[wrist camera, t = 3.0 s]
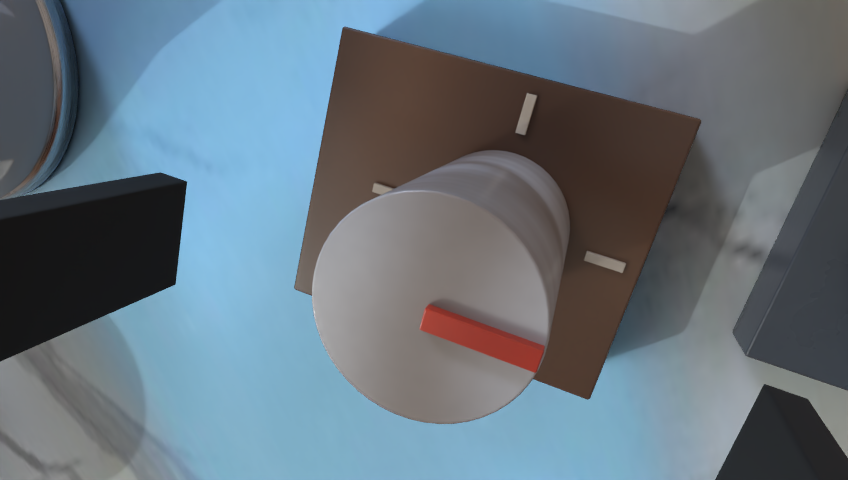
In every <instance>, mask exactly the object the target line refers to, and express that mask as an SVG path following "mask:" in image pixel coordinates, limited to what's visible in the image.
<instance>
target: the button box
mask: <svg viewBox="0 0 848 480" xmlns="http://www.w3.org/2000/svg"><path fill="white" fill-rule="evenodd" d="M733 334H734V336H735V338H736V340H737V341H738V343H739V345H740V347H741V348H742V350H743V352H744V354H745V355H746V356H748V357H751V358H754V359H757V360H760V361H763V362H765V363H768V364H771V365H774V366H777V367H780V368H783V369H786V370H789V371H792V372H795V373H798V374H801V375H804V376H807V377H810V378H812V379H815V380H818V381H821V382H824V383H827V384H830V385H833V386H836V387H839V388H842V389H845V390H848V91H847V93H846V95H845V97H844V99H843V101H842V103H841V105H840V107H839V110H838V112H837V114H836V116H835V118H834V120H833V122H832V124H831V126H830V128H829V131H828V133H827V135H826V137H825V139H824V141H823V143H822V145H821V147H820V149H819V151H818V154H817V156H816V158H815V160H814V162H813V164H812V166H811V168H810V170H809V172H808V174H807V177H806V179H805V181H804V183H803V185H802V187H801V189H800V191H799V193H798V195H797V198H796V200H795V202H794V204H793V206H792V208H791V210H790V212H789V214H788V216H787V218H786V221H785V223H784V225H783V227H782V229H781V231H780V233H779V235H778V237H777V239H776V241H775V244H774V246H773V248H772V250H771V252H770V254H769V256H768V258H767V260H766V262H765V265H764V267H763V269H762V271H761V273H760V275H759V277H758V279H757V281H756V283H755V285H754V288H753V290H752V292H751V294H750V296H749V298H748V300H747V302H746V304H745V306H744V309H743V311H742V313H741V315H740V317H739V319H738V321H737V323H736V325H735V327H734V329H733Z"/></svg>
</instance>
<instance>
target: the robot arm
mask: <svg viewBox="0 0 848 480" xmlns="http://www.w3.org/2000/svg"><path fill="white" fill-rule="evenodd" d="M77 103H78V73H77V62H76V56H75V49H74V45H73V40H72V35H71V32H70V28H69V25H68V22H67V18H66V16H65V13H64V10H63V7H62V5H61V2H60V0H0V361H2V360H5V359H7V358H9V357H11V356H14V355H16V354H18V353H20V352H23V351H25V350H27V349H30V348H32V347H34V346H36V345H39V344H41V343H43V342H46V341H48V340H50V339H52V338H55V337H57V336H59V335H61V334H64V333H66V332H68V331H71V330H73V329H75V328H77V327H80V326H82V325H84V324H87V323H89V322H91V321H93V320H96V319H98V318H100V317H102V316H105V315H107V314H109V313H112V312H114V311H116V310H118V309H121V308H123V307H125V306H128V305H130V304H132V303H134V302H137V301H139V300H141V299H143V298H146V297H148V296H150V295H153V294H155V293H157V292H159V291H162V290H164V289H166V288H168V287H171V286H173V285H175V283H176V274H177V266H178V257H179V248H180V239H181V230H182V221H183V213H184V204H185V195H186V186H187V182H186V181H184V180H181V179H178V178H175V177H172V176H169V175H166V174H164V173H155V174H149V175H143V176H137V177H132V178H126V179H120V180H114V181H108V182H102V183H97V184H91V185H85V186H79V187H73V188H67V189H62V190H56V191H50V192H44V193H38V194H32V195H27V196H21V195H24V194H26V193H28V192H30V191H32V190H33V189H35V188H36V187H38V186H39V185H41V184H42V183H43V182H44V181H45V180H46V179H47V178H48V177H49V176H50V175H51V174H52V172H53V171H54V170H55V169H56V167H57V166H58V164H59V163H60V161H61V159H62V157H63V155H64V153H65V151H66V149H67V147H68V144H69V141H70V139H71V136H72V132H73V128H74V124H75V118H76V113H77ZM18 196H21V197H18ZM14 197H15V198H14ZM715 480H848V458H847V456H846V455H845V454H844V452H843V451H842V449H841V448H840V446H839V445H838V443H837V442H836V440H835V439H834V437H833V436H832V434H831V433H830V431H829V430H828V428H827V427H826V425H825V424H824V423H823V421H822V420H821V418H820V417H819V415H818V414H817V412H816V411H815V409H814V408H813V406H812V405H811V403H810V402H809V400H808V399H806V398H803V397H800V396H797V395H794V394H791V393H789V392H786V391H783V390H780V389H777V388H774V387H772V386H769V385H766V384H764V386H763V388H762V390H761V391H760V393H759V395H758V397H757V399H756V401H755V403H754V405H753V407H752V409H751V411H750V413H749V415H748V417H747V419H746V421H745V423H744V425H743V427H742V429H741V430H740V432H739V434H738V436H737V438H736V440H735V442H734V444H733V446H732V448H731V450H730V452H729V454H728V456H727V458H726V460H725V462H724V464H723V466H722V468H721V470H720V471H719V473H718V475H717V477H716V479H715Z"/></svg>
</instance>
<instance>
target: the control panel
mask: <svg viewBox="0 0 848 480" xmlns="http://www.w3.org/2000/svg"><path fill="white" fill-rule="evenodd" d="M700 124H701V120H700V119H698V118H694V117H690V116H686V115H682V114H678V113H675V112H671V111H667V110H663V109H659V108H655V107H651V106H648V105H644V104H640V103H636V102H632V101H628V100H625V99H621V98H617V97H613V96H609V95H605V94H602V93H598V92H594V91H590V90H586V89H582V88H579V87H575V86H571V85H567V84H563V83H559V82H556V81H552V80H548V79H544V78H540V77H536V76H533V75H529V74H525V73H521V72H517V71H513V70H510V69H506V68H502V67H498V66H494V65H490V64H486V63H483V62H479V61H475V60H471V59H467V58H463V57H460V56H456V55H452V54H448V53H444V52H440V51H437V50H433V49H429V48H425V47H421V46H417V45H414V44H410V43H406V42H402V41H398V40H394V39H391V38H387V37H383V36H379V35H375V34H371V33H368V32H364V31H360V30H356V29H352V28H348V27H343V29H342V34H341V40H340V45H339V50H338V56H337V61H336V67H335V72H334V77H333V83H332V88H331V93H330V99H329V104H328V109H327V115H326V120H325V126H324V131H323V136H322V142H321V147H320V152H319V158H318V163H317V169H316V174H315V179H314V185H313V190H312V195H311V201H310V206H309V211H308V217H307V222H306V228H305V233H304V238H303V244H302V249H301V254H300V260H299V265H298V270H297V276H296V281H295V287H294V289H295V290H298V291H301V292H303V293H306V294H309V295H311V296H312V284H313V277H314V271H315V267H316V263H317V260H318V257H319V254H320V252H321V250H322V247H323V245H324V243H325V242H326V240H327V238H328V237H329V235H330V233H331V232H332V231H333V230H334V228H335V227H336V226H337V225H338V223H339V222H340V221H341V220H342V219H343V218H345V217H346V216H347V215H348V214H349V213H350V212H351V211H353V210H354V209H356V208H357V207H359V206H360V205H362V204H363V203H365V202H367V201H369V200H372V199H374V198H376V197H378V196H380V195H382V194H384V193H386V192H388V191H391V190H393V189H395V188H397V187H399V186H401V185H403V184H405V183H408V182H410V181H412V180H414V179H416V178H418V177H420V176H422V175H425V174H427V173H429V172H431V171H433V170H435V169H437V168H440V167H442V166H444V165H446V164H448V163H450V162H452V161H454V160H457V159H459V158H461V157H463V156H465V155H468V154H471V153H474V152H479V151H486V150H499V151H507V152H511V153H515V154H518V155H521V156H524V157H526V158H528V159H529V160H531V161H533V162H535V163H536V164H538V165H539V166H540V167H542V168H543V169H544V170H545V171H546V172H547V173H548V174H549V175H550V176H551V177H552V178H553V179H554V181H555V182H556V183H557V185H558V187H559V188H560V190H561V191H562V194H563V196H564V198H565V200H566V203H567V207H568V210H569V217H570V235H569V242H568V247H567V252H566V257H565V262H564V267H563V272H562V277H561V282H560V287H559V292H558V297H557V302H556V307H555V312H554V317H553V322H552V327H551V332H550V337H549V342H548V345H547V349H546V352H545V356H544V358H543V361H542V363H541V365H540V367H539V370H538V371H537V373H536V374H535V376H534V378H533V379H535V380H537V381H540V382H543V383H545V384H548V385H550V386H553V387H556V388H558V389H561V390H564V391H566V392H569V393H572V394H574V395H577V396H580V397H582V398H585V399H590V397H591V395H592V392H593V390H594V387H595V385H596V382H597V380H598V377H599V375H600V373H601V370H602V368H603V365H604V363H605V360H606V358H607V355H608V353H609V350H610V348H611V345H612V343H613V340H614V338H615V335H616V333H617V330H618V328H619V325H620V323H621V320H622V318H623V315H624V313H625V310H626V308H627V305H628V303H629V300H630V298H631V295H632V293H633V290H634V288H635V285H636V283H637V281H638V278H639V276H640V273H641V271H642V268H643V266H644V263H645V261H646V258H647V256H648V253H649V251H650V248H651V246H652V243H653V241H654V238H655V236H656V233H657V231H658V228H659V226H660V223H661V221H662V218H663V216H664V213H665V211H666V208H667V206H668V203H669V201H670V198H671V196H672V193H673V191H674V189H675V186H676V184H677V181H678V179H679V176H680V174H681V171H682V169H683V166H684V164H685V161H686V159H687V156H688V154H689V151H690V149H691V146H692V144H693V141H694V139H695V136H696V134H697V131H698V129H699V126H700Z"/></svg>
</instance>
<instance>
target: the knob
mask: <svg viewBox="0 0 848 480" xmlns="http://www.w3.org/2000/svg"><path fill="white" fill-rule="evenodd" d="M569 235H570V217H569V210H568V207H567V203H566V200H565V198H564V196H563V194H562V191H561V190H560V188H559V187H558V185H557V183H556V182H555V181H554V179H553V178H552V177H551V176H550V175H549V174H548V173H547V172H546V171H545V170H544V169H543V168H542V167H540V166H539V165H538V164H536V163H535V162H533V161H531V160H529V159H528V158H526V157H524V156H521V155H518V154H515V153H511V152H507V151H499V150H486V151H479V152H474V153H471V154H468V155H465V156H463V157H461V158H459V159H457V160H454V161H452V162H450V163H448V164H446V165H444V166H442V167H440V168H437V169H435V170H433V171H431V172H429V173H427V174H425V175H422V176H420V177H418V178H416V179H414V180H412V181H410V182H408V183H405V184H403V185H401V186H399V187H397V188H395V189H393V190H391V191H388V192H386V193H384V194H382V195H380V196H378V197H376V198H374V199H372V200H369V201H367V202H365V203H363V204H362V205H360V206H359V207H357V208H356V209H354V210H353V211H351V212H350V213H349V214H348V215H347V216H346V217H345V218H343V219H342V220H341V221H340V222H339V223H338V225H337V226H336V227H335V228H334V230H333V231H332V232H331V233H330V235H329V237H328V238H327V240H326V242H325V243H324V245H323V247H322V250H321V252H320V254H319V257H318V260H317V263H316V267H315V271H314V277H313V284H312V304H313V312H314V318H315V322H316V326H317V330H318V332H319V335H320V338H321V340H322V343H323V345H324V347H325V349H326V351H327V353H328V355H329V357H330V358H331V360H332V361H333V363H334V364H335V366H336V367H337V369H338V370H339V371H340V372H341V374H342V375H343V376H344V377H345V378H346V380H347V381H348V382H349V383H350V384H351V385H353V386H354V387H355V388H356V389H357V390H358V391H359V392H360V393H361V394H363V395H364V396H365V397H367V398H368V399H369V400H371V401H372V402H374V403H376V404H377V405H379V406H380V407H382V408H384V409H386V410H388V411H390V412H392V413H394V414H397V415H400V416H403V417H405V418H408V419H412V420H416V421H421V422H426V423H436V424H454V423H461V422H468V421H472V420H475V419H479V418H482V417H485V416H487V415H489V414H491V413H494V412H496V411H498V410H499V409H501V408H503V407H504V406H506V405H507V404H509V403H510V402H511V401H513V400H514V399H515V398H516V397H517V396H518V395H520V394H521V393H522V391H523V390H524V389H525V388H526V387H527V386H528V385H529V384H530V382H531V381H532V379H533V378H534V376H535V374H536V373H537V371H538V370H539V367H540V365H541V363H542V361H543V358H544V356H545V352H546V349H547V345H548V342H549V337H550V332H551V327H552V322H553V317H554V312H555V307H556V302H557V297H558V292H559V287H560V282H561V277H562V272H563V267H564V262H565V257H566V252H567V247H568V242H569Z"/></svg>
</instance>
